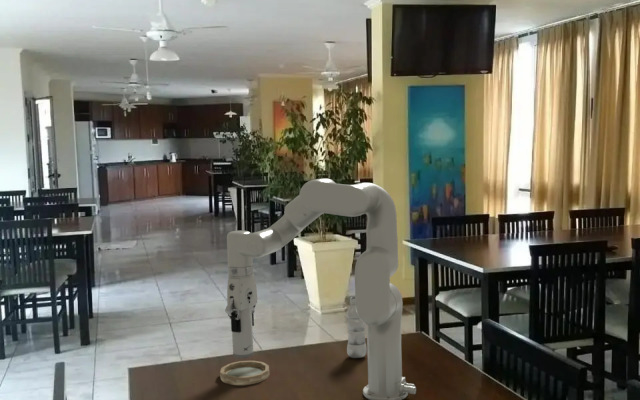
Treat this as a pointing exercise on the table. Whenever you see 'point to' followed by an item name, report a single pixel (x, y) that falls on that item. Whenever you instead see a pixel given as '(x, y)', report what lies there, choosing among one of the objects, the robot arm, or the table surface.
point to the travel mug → (244, 334)
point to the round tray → (244, 372)
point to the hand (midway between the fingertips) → (242, 328)
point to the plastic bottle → (355, 332)
